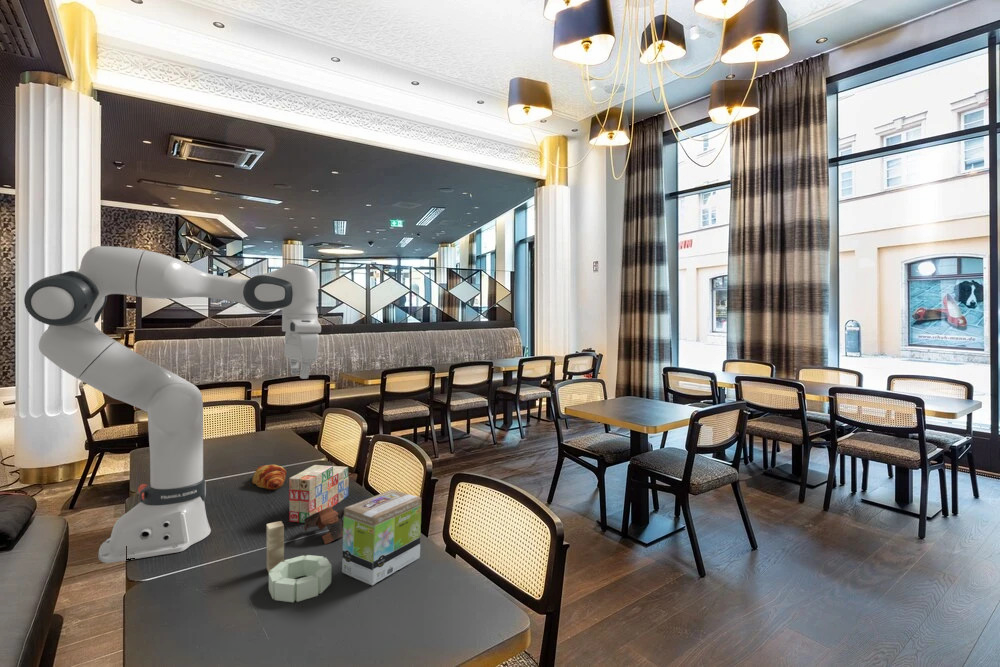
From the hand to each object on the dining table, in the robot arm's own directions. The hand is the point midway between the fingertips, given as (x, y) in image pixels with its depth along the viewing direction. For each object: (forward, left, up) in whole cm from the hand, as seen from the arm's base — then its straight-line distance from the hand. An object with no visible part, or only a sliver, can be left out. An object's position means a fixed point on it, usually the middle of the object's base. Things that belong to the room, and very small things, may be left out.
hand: (299, 376), depth 130 cm
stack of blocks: (+8, +8, -40) cm, 42 cm away
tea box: (+10, -34, -40) cm, 54 cm away
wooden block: (-10, -22, -40) cm, 47 cm away
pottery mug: (+5, -12, -40) cm, 42 cm away
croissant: (0, +39, -40) cm, 56 cm away
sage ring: (-7, -32, -40) cm, 52 cm away
